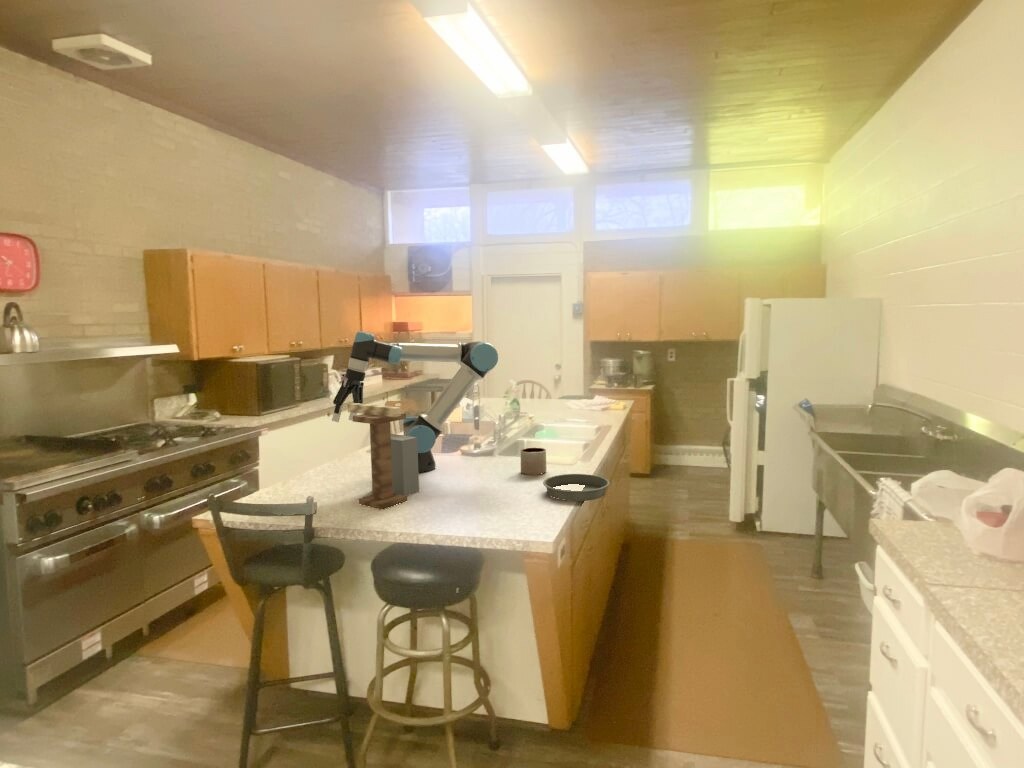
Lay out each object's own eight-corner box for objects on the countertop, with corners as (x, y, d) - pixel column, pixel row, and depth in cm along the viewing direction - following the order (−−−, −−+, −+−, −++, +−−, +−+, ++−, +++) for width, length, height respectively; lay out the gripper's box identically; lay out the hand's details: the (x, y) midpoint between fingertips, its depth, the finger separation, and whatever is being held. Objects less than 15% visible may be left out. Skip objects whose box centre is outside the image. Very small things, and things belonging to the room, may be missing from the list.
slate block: (372, 490, 254) (370, 436, 252) (387, 485, 261) (385, 433, 258) (404, 496, 244) (402, 440, 242) (419, 491, 251) (417, 437, 248)
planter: (516, 474, 275) (516, 451, 274) (526, 468, 285) (525, 446, 284) (541, 476, 271) (541, 453, 270) (549, 470, 281) (549, 448, 280)
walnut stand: (356, 505, 234) (352, 416, 231) (385, 495, 246) (382, 410, 242) (380, 510, 227) (376, 418, 224) (409, 500, 239) (405, 413, 235)
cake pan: (532, 489, 252) (532, 477, 251) (589, 482, 261) (589, 471, 260) (561, 506, 229) (561, 493, 229) (622, 497, 238) (622, 485, 238)
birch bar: (347, 412, 241) (347, 403, 240) (354, 411, 243) (353, 402, 243) (394, 417, 227) (394, 408, 226) (400, 415, 229) (400, 407, 229)
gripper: (362, 369, 278) (350, 417, 279) (332, 365, 254) (319, 419, 254) (378, 373, 276) (366, 422, 277) (349, 370, 252) (336, 424, 253)
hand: (343, 421), depth 266 cm, fingers open, 13 cm apart
